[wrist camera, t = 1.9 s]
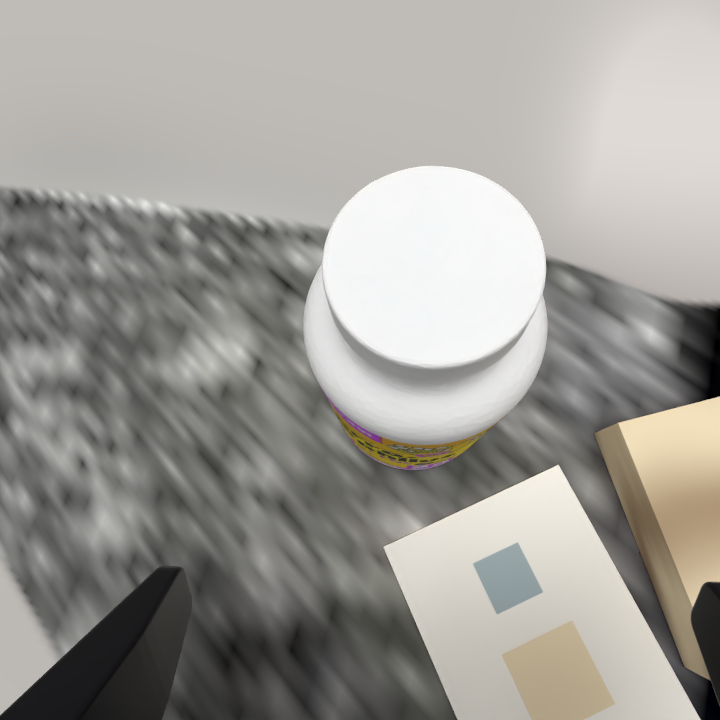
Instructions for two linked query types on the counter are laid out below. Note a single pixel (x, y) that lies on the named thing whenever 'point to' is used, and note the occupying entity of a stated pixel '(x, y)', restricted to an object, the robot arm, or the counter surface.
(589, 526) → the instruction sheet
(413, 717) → the counter surface
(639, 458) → the base block
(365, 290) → the supplement bottle
